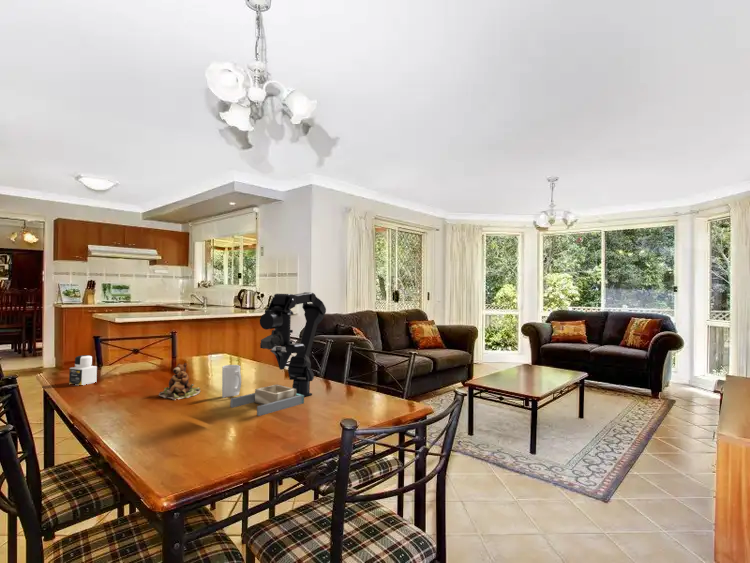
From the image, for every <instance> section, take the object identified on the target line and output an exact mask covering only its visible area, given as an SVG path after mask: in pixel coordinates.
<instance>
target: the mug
mask: <svg viewBox="0 0 750 563" xmlns="http://www.w3.org/2000/svg"><path fill="white" fill-rule="evenodd" d="M221 368H222V371H221V373H222V374H221V378H222V379H221V380H222V381H221V382H222V384H221V385H222V387H221V388H222V389H221V391H222V392H221V393H222V394H221V395H222V396H221V398H223V399H224V398H228V397H237V396H238V395H239V396H240V392H241V388H242V375H241V365H238V364H227V365H223V366H222V367H221Z"/></svg>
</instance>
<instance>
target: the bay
mask: <svg viewBox="0 0 750 563" xmlns="http://www.w3.org/2000/svg"><path fill="white" fill-rule="evenodd" d="M251 403H255V392H253V393H248V394H244V395H239V396H234V397H230V404H229V405H230V408H232V409H233V408H236V407H240V406H244V405H248V404H251ZM302 404H305V397H304V395H301V394H297V393H296V396H295V397H291V398H287V399H283V400H280V401H276V402H272V403H268V404H264V405H257V406H256V415H257V416H258V417H261V416H264V415H268V414H270V413H271V414H272V413H275V412H278V411H282V410H285V409H289V408H292V407H296V406H299V405H302Z"/></svg>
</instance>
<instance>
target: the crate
mask: <svg viewBox="0 0 750 563" xmlns="http://www.w3.org/2000/svg"><path fill="white" fill-rule="evenodd" d="M254 393H255V402H254V404H257V405H259V406H261V405H264V404H268V403H272V402H276V401H280V400H283V399H287V398H291V397H295V396H296V389H294V388H292V387H289V386H284V385H281V384H273V385H269V386H264V387H263V386H262V387H258V388H256V389H255V390H254Z"/></svg>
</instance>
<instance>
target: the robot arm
mask: <svg viewBox="0 0 750 563" xmlns="http://www.w3.org/2000/svg"><path fill="white" fill-rule="evenodd" d="M297 305H302V309H303V311H304V315H303V316H304V317H305V326H304V328H303V331H302V336H301V340H300V342H294V343H293V340H291V333H292V334H293V332H294V331H293V329H291V322H292V321H291V319H292V318H291V316H292V315H294V312H293V310H291V309H293V308H295V307H296V306H297ZM326 312H327V308H326V306H325V304H324V302H323V301H322V300H321V299H320V298H318V296H316V294H315V293H313V292H301V293H295V294H293V293H274V295H273V297H272V299H271V300H270V302H269V305H268V308H267V309H265V310H264V313H263V314H262V315H261V316H260V319H259V325H260V327H261V328H262V329H264V330H266V331H267V330H271V334H270V335H267V336H265V337H264V338H262V339H260V342H259V344H260V345H259V348H260V349H263V350H264V349H266V350H269V352H270V353H272V354H273V355H274V356H275V359H276V361H277V364H278V365H277V366H278V368H279V370H284V368H285V366H286V365H287V363H288V360H289V359H290V360H289V363H288V365H287V372H288V378H289V381H293V382H292V387H291V388H294V389H296V393H297V394H301V395H304V398H305V397H308V396H313V392H310V391H311V390H310V384H311V382H313V380H314V378H315V373H314V372H313V370H312V368H311V367H312V363H311V359H310V355H311V351H312V348H313V344H314V340H315V336H316V333H317V332H316V331H317V328H318V325H319V324H320V323H321V322H322V321H323V320H324V318H325V314H326ZM292 354H295V356H291V355H292Z"/></svg>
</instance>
